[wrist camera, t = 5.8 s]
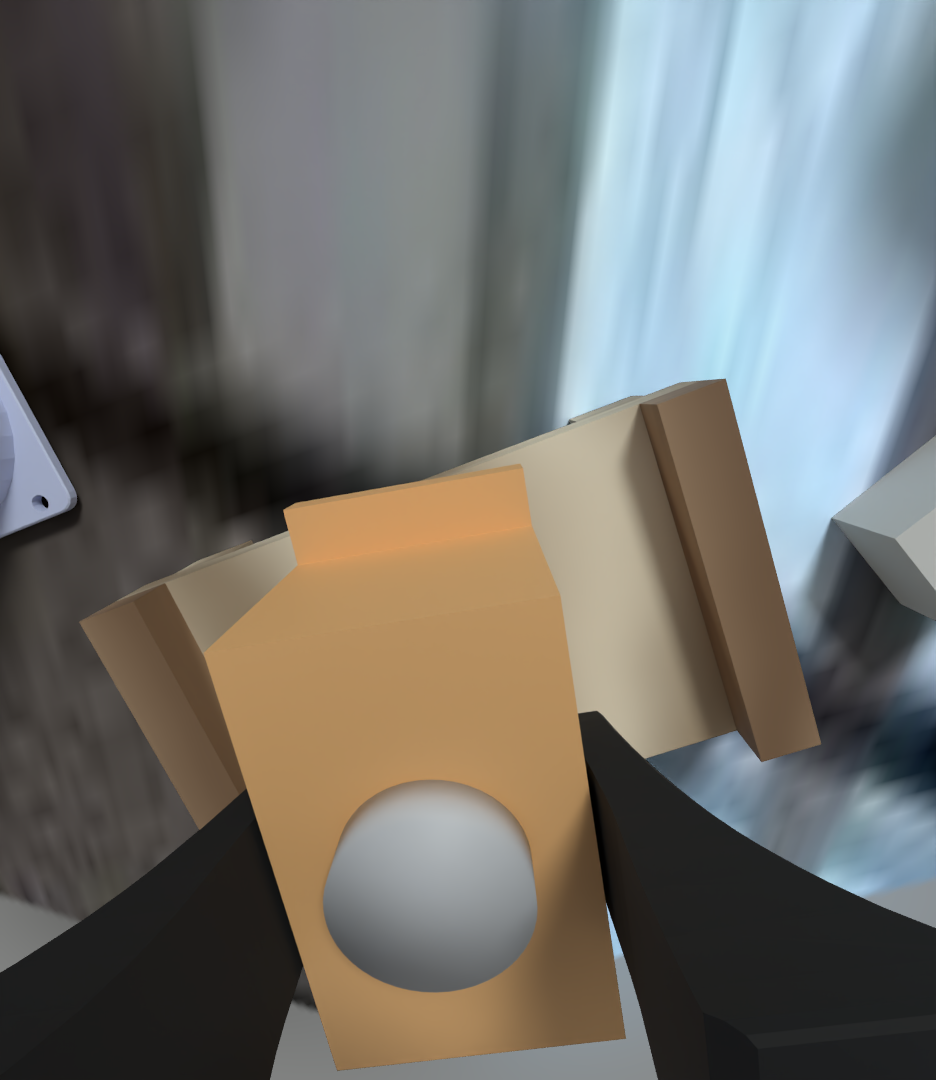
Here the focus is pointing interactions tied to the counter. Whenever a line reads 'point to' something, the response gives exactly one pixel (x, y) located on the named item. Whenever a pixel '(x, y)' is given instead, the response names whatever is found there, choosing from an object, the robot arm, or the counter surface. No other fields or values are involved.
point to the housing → (425, 775)
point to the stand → (581, 578)
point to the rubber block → (900, 529)
